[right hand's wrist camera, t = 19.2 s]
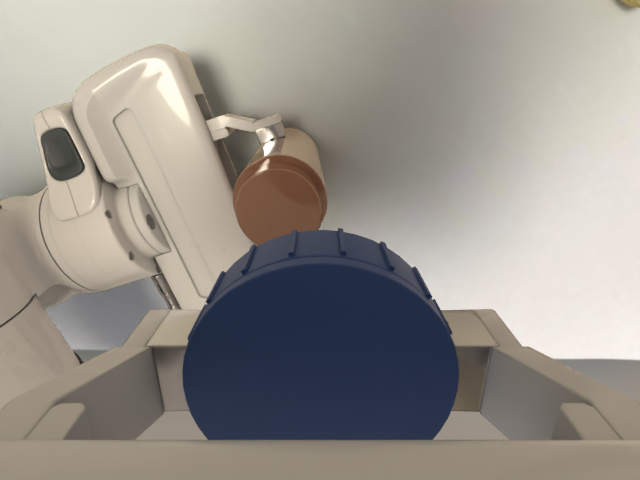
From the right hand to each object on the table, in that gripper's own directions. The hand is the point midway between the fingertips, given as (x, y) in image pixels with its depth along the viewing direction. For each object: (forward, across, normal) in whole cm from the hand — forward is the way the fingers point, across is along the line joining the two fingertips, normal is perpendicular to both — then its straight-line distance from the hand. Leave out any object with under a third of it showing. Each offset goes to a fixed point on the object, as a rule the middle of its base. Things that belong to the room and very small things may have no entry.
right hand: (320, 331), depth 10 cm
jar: (+25, +3, 0) cm, 25 cm away
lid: (-2, 0, 0) cm, 2 cm away
